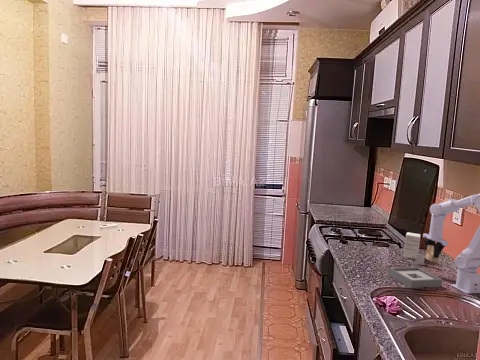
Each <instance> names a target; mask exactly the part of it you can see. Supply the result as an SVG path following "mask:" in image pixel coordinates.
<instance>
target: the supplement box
mask: <svg viewBox="0 0 480 360" xmlns="http://www.w3.org/2000/svg"><path fill="white" fill-rule="evenodd" d="M421 235H422V234H420V233H414V232H409V231H408V232H406V234H405V239H404V240H405V241H404V247H403V253H402V254H403V257H404V258H408V259H413V260H415V259H416V255H418V254H420V253H419V251H420V245H421Z"/></svg>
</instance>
